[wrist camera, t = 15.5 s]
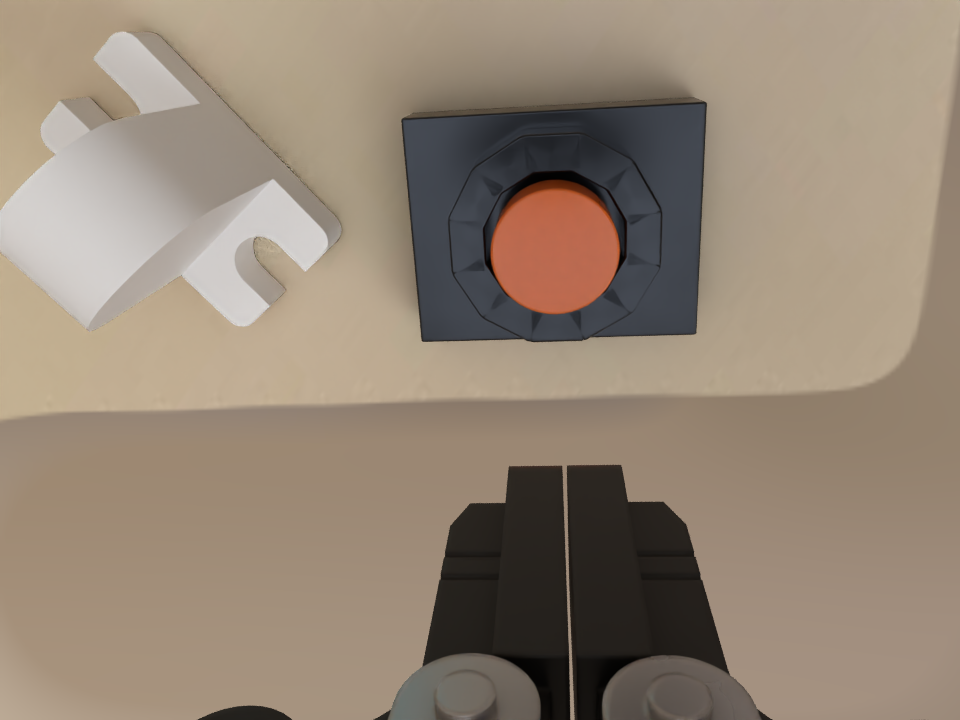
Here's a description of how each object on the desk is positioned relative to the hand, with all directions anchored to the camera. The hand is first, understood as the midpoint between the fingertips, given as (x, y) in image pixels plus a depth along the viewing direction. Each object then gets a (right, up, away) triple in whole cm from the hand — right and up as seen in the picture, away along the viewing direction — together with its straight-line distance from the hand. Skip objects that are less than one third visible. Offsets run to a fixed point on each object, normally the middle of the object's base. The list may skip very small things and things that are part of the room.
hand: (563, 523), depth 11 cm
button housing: (+2, +8, +19) cm, 20 cm away
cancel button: (+1, +6, +15) cm, 17 cm away
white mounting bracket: (-11, +9, +19) cm, 24 cm away
